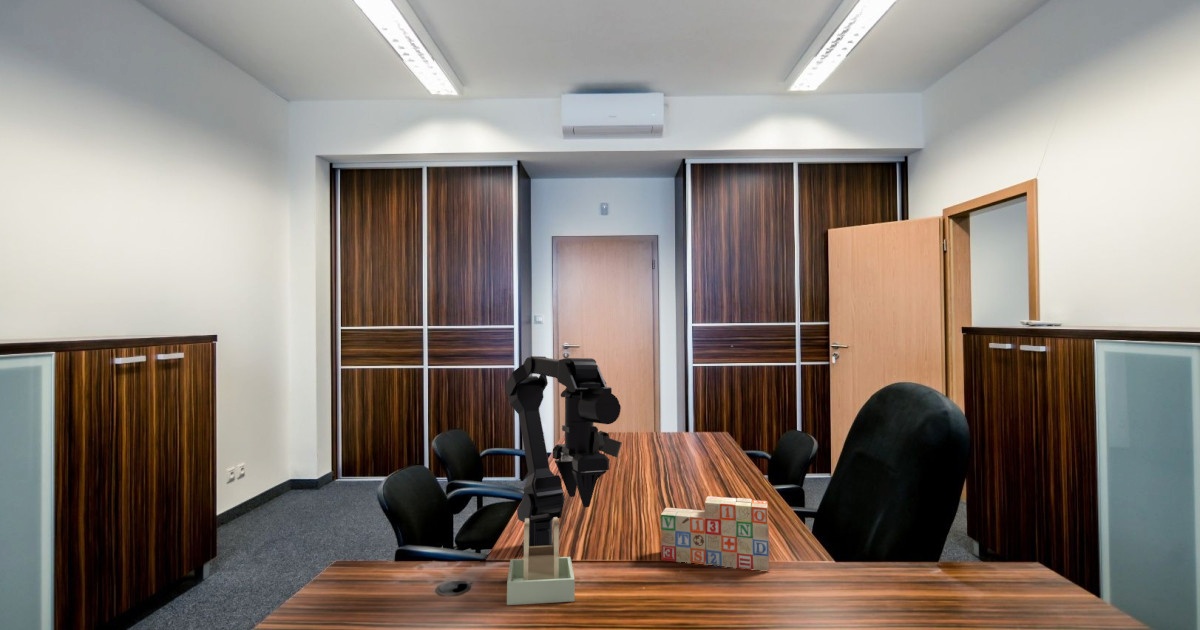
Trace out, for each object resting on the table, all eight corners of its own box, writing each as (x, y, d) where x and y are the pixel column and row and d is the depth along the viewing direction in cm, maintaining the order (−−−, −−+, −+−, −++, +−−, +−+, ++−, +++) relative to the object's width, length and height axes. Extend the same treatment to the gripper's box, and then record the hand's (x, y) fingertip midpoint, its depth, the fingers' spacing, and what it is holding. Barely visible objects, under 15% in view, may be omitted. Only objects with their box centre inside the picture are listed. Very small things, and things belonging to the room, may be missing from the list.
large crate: (510, 579, 96) (510, 559, 97) (570, 576, 98) (570, 556, 98) (506, 605, 85) (507, 582, 86) (574, 601, 87) (574, 579, 87)
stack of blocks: (660, 561, 106) (659, 499, 107) (666, 551, 112) (665, 492, 113) (770, 573, 99) (767, 506, 101) (770, 562, 105) (767, 499, 107)
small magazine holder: (523, 581, 94) (524, 518, 95) (557, 579, 95) (557, 517, 96) (523, 594, 88) (524, 527, 89) (558, 592, 89) (558, 526, 90)
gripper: (634, 423, 98) (635, 509, 96) (601, 416, 115) (601, 489, 113) (578, 425, 94) (578, 514, 92) (552, 418, 111) (551, 493, 109)
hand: (579, 501), depth 102 cm, fingers open, 9 cm apart
